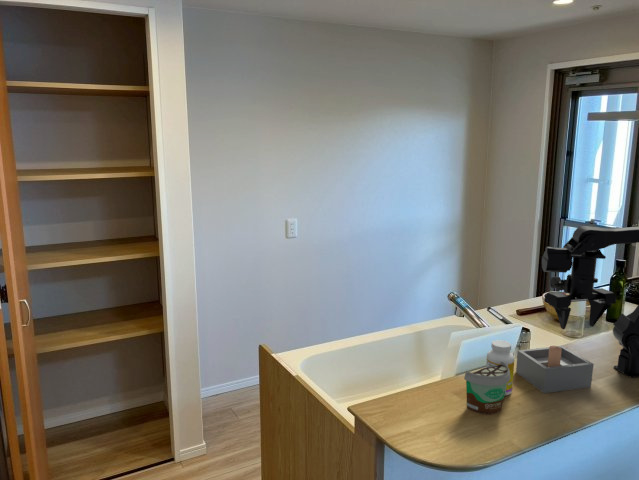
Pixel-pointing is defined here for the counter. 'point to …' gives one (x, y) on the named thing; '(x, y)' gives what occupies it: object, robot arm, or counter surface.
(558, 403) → the counter surface
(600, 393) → the counter surface
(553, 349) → the peg
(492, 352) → the supplement bottle
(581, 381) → the bore box
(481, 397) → the food container
